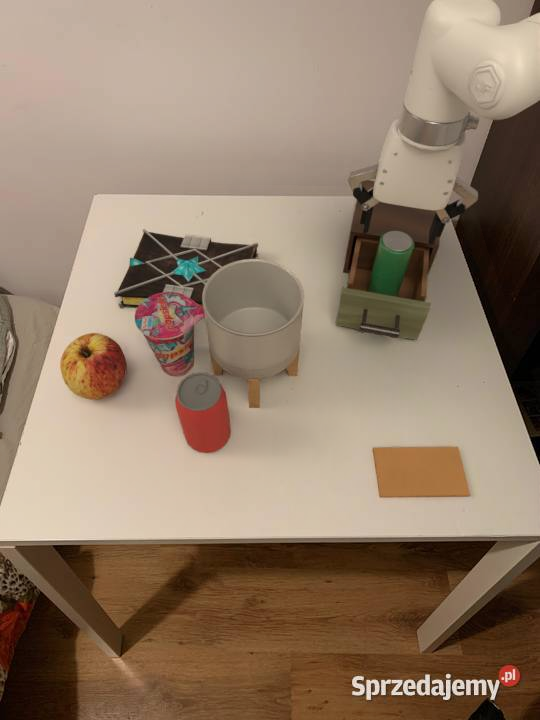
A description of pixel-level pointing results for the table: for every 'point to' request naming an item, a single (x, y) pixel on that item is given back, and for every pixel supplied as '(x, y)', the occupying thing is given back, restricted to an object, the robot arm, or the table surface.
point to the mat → (420, 472)
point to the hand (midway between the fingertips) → (398, 232)
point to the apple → (93, 366)
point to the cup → (170, 329)
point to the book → (176, 266)
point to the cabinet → (392, 226)
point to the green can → (391, 263)
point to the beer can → (203, 412)
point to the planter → (253, 321)
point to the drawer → (385, 296)
